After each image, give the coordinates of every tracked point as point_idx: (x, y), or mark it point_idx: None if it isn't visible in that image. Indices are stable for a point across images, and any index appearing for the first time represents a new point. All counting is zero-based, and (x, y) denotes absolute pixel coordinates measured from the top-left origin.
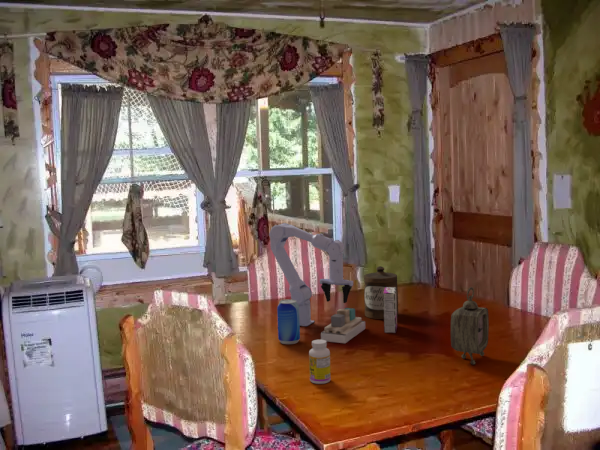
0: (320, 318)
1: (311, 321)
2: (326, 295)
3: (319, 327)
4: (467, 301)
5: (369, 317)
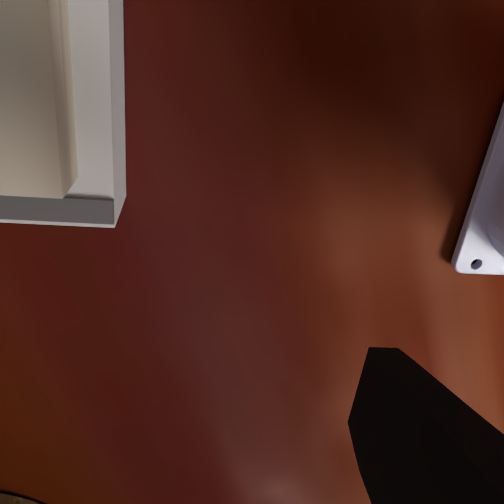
0: None
1: (481, 242)
2: (474, 441)
3: (364, 93)
4: None
5: (17, 498)
